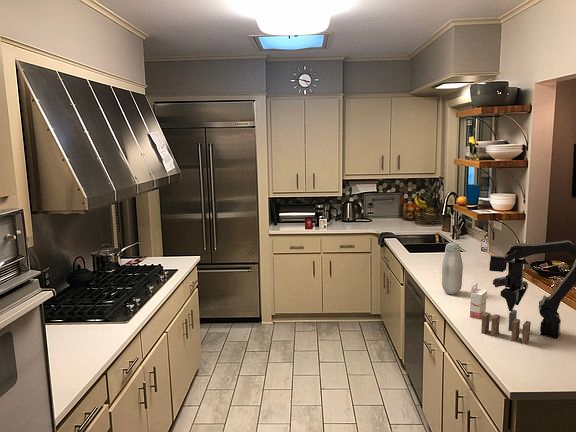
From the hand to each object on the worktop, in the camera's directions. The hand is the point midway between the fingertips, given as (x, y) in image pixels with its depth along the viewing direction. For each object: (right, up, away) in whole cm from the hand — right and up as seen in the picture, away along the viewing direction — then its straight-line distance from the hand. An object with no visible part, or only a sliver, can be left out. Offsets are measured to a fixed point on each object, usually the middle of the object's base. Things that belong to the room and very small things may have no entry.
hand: (513, 308), depth 199 cm
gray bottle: (-9, -2, +49) cm, 50 cm away
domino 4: (0, -12, -11) cm, 16 cm away
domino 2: (-10, -11, -3) cm, 15 cm away
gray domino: (0, -10, +2) cm, 10 cm away
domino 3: (-4, -11, -8) cm, 14 cm away
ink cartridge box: (-8, -7, +18) cm, 21 cm away
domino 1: (-13, -10, -1) cm, 16 cm away
